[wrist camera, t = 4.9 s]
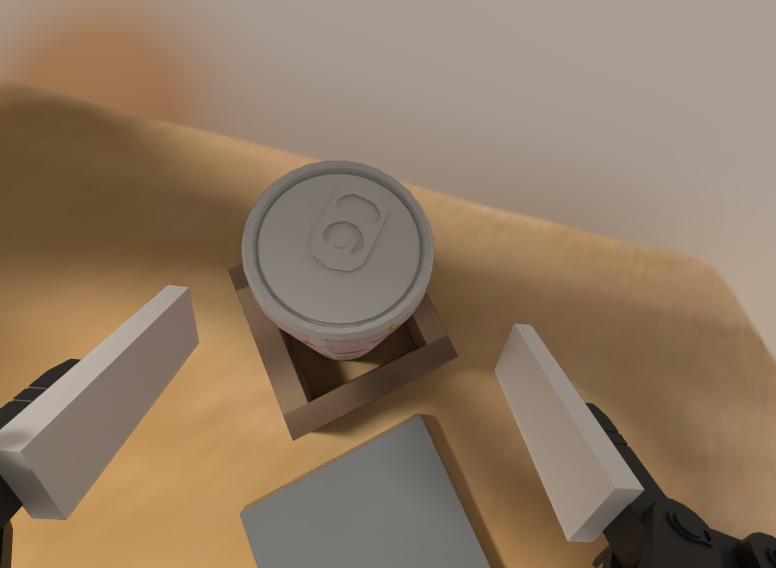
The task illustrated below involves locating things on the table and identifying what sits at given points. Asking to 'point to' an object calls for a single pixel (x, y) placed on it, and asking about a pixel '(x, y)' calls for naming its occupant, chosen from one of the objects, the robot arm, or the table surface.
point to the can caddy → (339, 401)
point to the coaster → (367, 511)
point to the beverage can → (338, 256)
